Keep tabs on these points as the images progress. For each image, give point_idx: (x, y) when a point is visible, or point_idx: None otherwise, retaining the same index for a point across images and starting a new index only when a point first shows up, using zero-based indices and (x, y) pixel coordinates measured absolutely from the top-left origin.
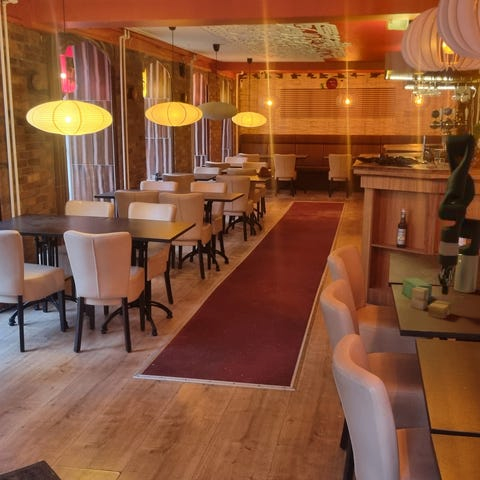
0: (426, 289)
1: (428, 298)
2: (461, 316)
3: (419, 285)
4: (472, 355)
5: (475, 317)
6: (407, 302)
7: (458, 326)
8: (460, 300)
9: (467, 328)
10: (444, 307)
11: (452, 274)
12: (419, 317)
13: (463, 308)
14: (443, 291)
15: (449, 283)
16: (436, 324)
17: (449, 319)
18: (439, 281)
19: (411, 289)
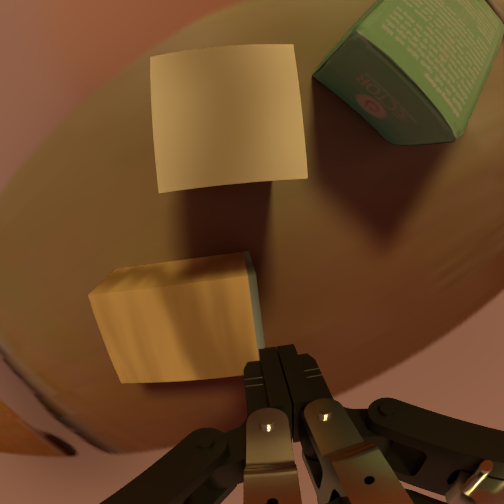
0: (261, 173)
1: (387, 134)
2: None
3: (396, 47)
4: (16, 450)
5: None
6: None
7: (119, 413)
8: (476, 259)
9: (132, 435)
10: (139, 380)
11: (435, 489)
12: (62, 248)
13: (383, 331)
14: (250, 381)
15: (315, 459)
16: (59, 348)
17: None
18: (148, 469)
19: (367, 11)
